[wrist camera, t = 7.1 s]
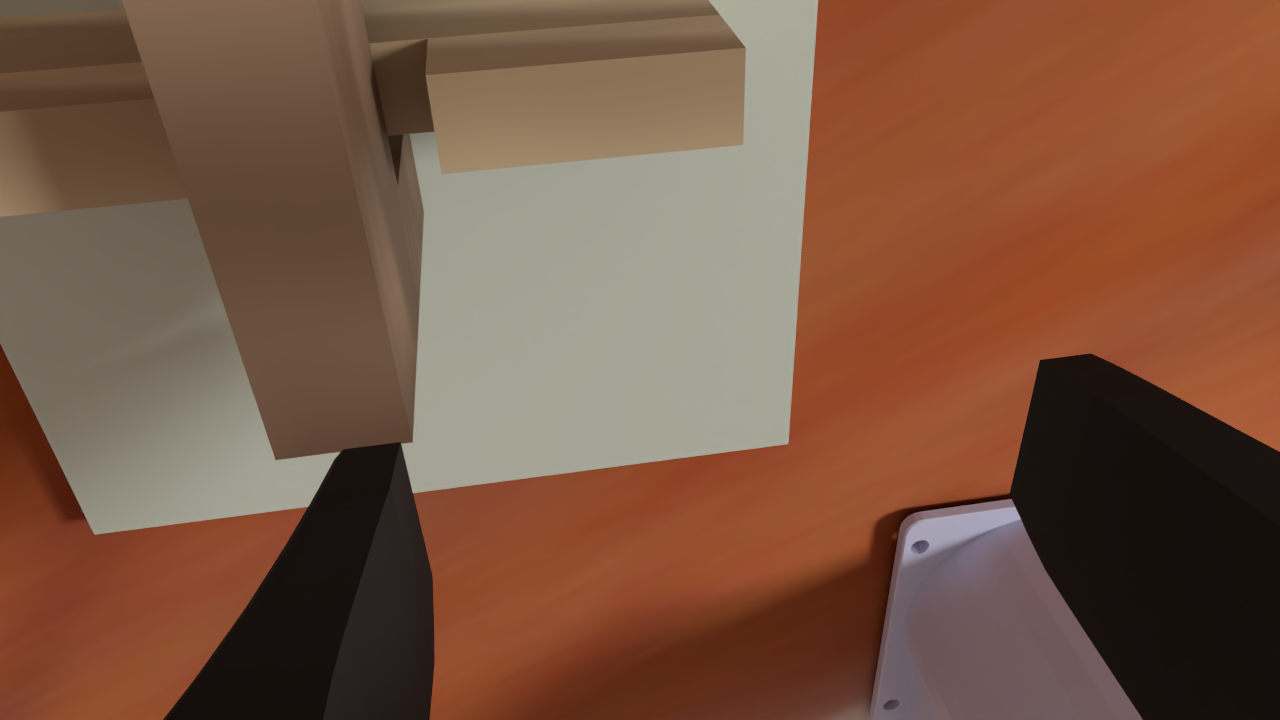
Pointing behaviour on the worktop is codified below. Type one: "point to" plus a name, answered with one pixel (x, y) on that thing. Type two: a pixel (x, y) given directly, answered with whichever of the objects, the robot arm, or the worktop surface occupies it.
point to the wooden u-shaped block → (388, 91)
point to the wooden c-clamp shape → (296, 208)
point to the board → (446, 316)
